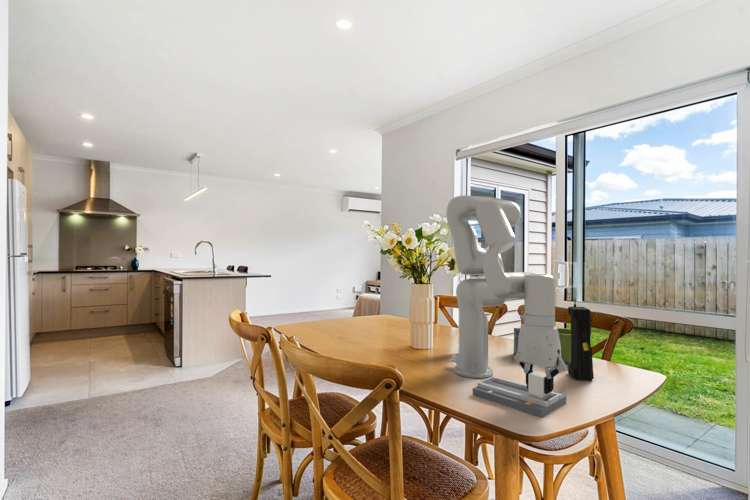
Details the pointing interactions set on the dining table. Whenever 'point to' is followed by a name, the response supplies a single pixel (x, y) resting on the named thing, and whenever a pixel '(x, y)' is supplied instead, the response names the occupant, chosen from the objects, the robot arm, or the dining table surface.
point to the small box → (516, 340)
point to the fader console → (516, 396)
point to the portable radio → (580, 344)
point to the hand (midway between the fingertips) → (539, 389)
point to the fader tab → (537, 386)
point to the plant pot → (565, 344)
